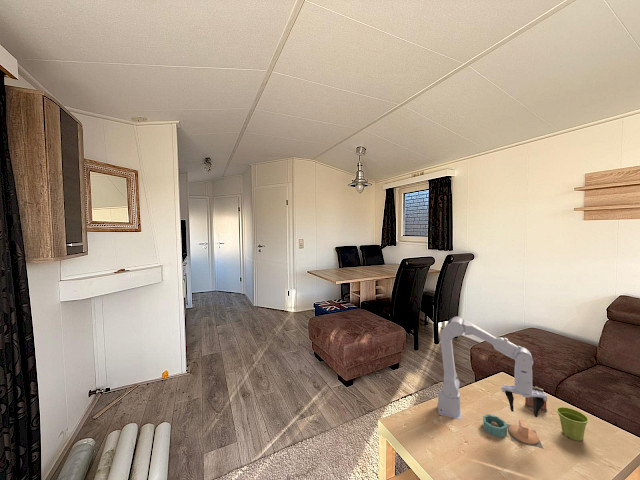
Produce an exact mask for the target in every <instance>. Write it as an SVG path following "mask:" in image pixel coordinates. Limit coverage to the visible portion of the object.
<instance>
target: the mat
mask: <svg viewBox="0 0 640 480" xmlns="http://www.w3.org/2000/svg"><path fill="white" fill-rule="evenodd" d="M506 425H507V432H508V434H509V436H510V440H511V441H513V442H515V443H516V442H517V443H521V444H524V445H528V446H530V447H531V446H532V447H535V448H540V449H545V448H544V446H543V444H542V442H541V440H540V439H539V443H538V444H534V445H531V444H526V443H523V442H521V441H519V440H517V439H516V438H514V437H513V436H512V435H511V434H510V432H509V427H510V426H511V425H512V424H509V423H506ZM531 430H532V431H533V432H535V433H536V434H537V431H536V430H533V429H531Z"/></svg>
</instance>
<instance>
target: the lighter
mask: <svg viewBox="0 0 640 480" xmlns="http://www.w3.org/2000/svg"><path fill="white" fill-rule="evenodd" d="M532 390H535V391H538V392H542V393H544V389H543V388H540V387H538V386H533V385H532ZM524 399H525V401H524V406H525V407H526V408H528V409H531V410H533V407H534V403H533V397H529V398H527V397H524ZM543 401H544V405H543V406H542V407H541V409H540V410H539V412H542V411H543V413H547V412H548V409H547V401H545V400H543Z"/></svg>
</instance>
